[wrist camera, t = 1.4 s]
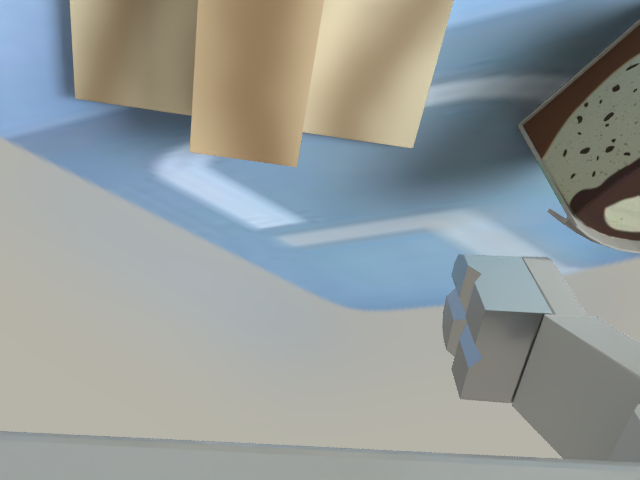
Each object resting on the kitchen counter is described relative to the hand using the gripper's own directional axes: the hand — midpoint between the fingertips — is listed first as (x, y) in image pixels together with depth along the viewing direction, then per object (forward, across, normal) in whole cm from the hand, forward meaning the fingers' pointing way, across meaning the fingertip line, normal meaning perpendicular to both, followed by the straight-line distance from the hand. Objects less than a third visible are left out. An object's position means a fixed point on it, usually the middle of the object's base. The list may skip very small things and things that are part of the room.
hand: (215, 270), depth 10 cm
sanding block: (+21, +1, +2) cm, 21 cm away
